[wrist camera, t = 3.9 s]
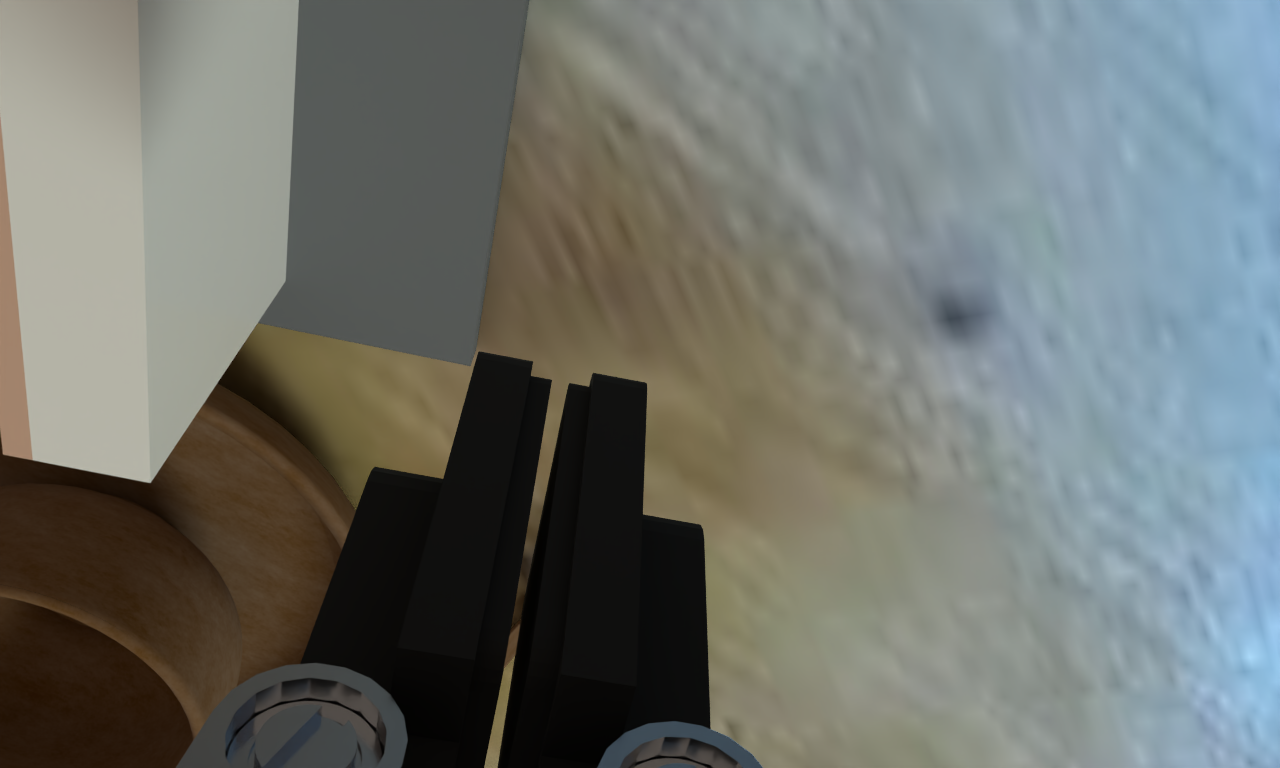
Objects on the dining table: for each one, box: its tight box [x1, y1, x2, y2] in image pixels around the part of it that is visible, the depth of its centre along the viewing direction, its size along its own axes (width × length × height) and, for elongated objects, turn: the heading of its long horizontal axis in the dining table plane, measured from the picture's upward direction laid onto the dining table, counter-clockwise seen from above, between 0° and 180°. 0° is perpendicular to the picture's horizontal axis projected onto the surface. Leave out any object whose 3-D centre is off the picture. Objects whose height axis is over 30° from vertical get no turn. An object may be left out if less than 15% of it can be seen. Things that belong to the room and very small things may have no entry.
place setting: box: [0, 384, 521, 768], centre depth 25 cm, size 18×20×6 cm
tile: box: [0, 0, 299, 483], centre depth 16 cm, size 8×2×6 cm, turn 168°
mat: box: [258, 0, 529, 366], centre depth 19 cm, size 10×14×1 cm
